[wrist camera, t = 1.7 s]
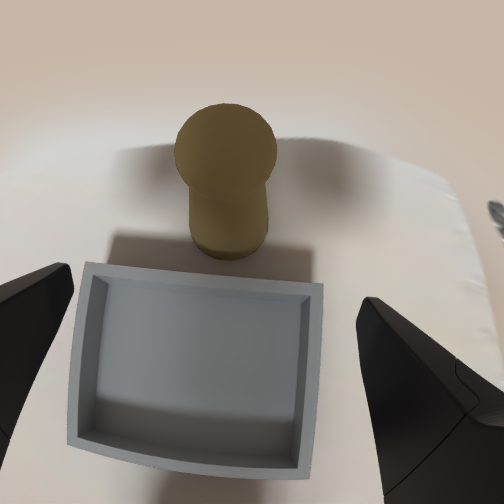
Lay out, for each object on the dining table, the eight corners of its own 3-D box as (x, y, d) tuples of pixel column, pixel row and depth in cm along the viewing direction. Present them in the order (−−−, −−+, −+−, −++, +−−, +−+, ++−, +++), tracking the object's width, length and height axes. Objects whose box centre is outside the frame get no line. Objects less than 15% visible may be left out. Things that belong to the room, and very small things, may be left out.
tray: (311, 294, 23) (323, 283, 20) (299, 463, 19) (309, 479, 16) (103, 274, 23) (85, 261, 20) (88, 435, 19) (67, 444, 16)
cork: (179, 203, 25) (148, 107, 15) (250, 178, 26) (258, 76, 16) (205, 272, 24) (181, 204, 13) (281, 243, 24) (312, 159, 14)
